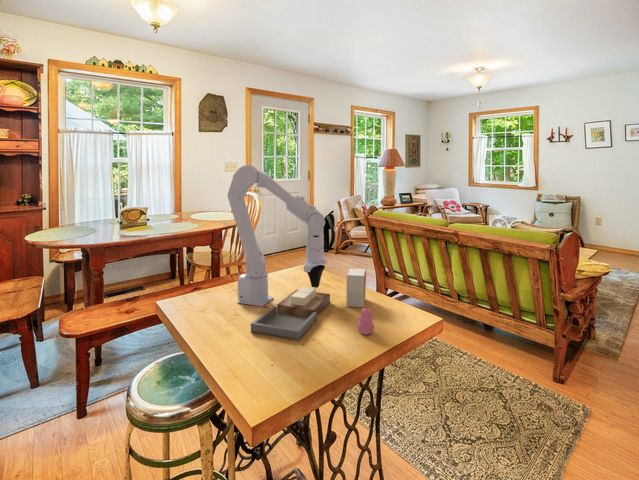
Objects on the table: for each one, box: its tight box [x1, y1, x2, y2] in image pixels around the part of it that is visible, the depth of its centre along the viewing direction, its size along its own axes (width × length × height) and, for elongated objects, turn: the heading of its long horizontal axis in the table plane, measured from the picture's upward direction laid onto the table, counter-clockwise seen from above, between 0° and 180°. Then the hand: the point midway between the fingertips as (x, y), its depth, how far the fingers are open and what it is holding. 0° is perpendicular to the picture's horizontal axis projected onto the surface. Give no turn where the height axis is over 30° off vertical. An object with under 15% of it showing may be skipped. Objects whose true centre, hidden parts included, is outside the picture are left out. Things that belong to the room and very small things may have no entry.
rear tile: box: [297, 286, 317, 300], centre depth 116 cm, size 4×4×2 cm
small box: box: [346, 267, 367, 308], centre depth 118 cm, size 8×6×10 cm
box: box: [250, 305, 318, 342], centre depth 102 cm, size 14×13×2 cm
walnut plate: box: [276, 289, 331, 318], centre depth 114 cm, size 12×14×3 cm
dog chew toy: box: [356, 306, 375, 335], centre depth 97 cm, size 4×4×7 cm
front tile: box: [291, 291, 310, 306], centre depth 111 cm, size 4×4×2 cm
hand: (315, 286), depth 122 cm, fingers closed
